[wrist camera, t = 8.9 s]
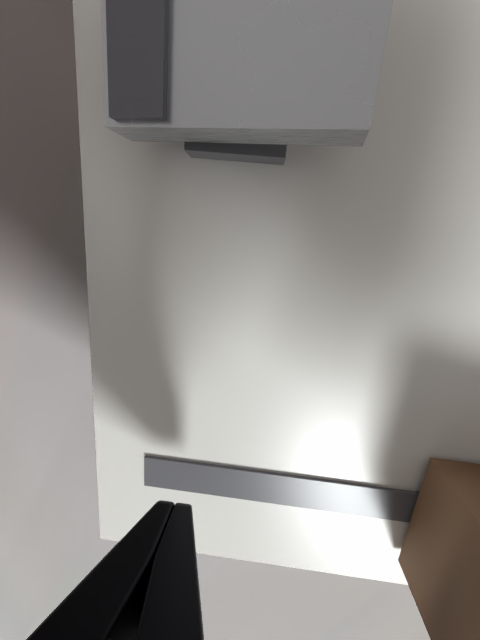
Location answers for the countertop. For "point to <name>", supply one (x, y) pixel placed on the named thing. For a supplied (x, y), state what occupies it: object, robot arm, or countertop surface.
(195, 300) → the control panel
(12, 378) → the countertop surface
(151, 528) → the robot arm
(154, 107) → the rocker switch
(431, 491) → the slider knob
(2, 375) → the countertop surface
